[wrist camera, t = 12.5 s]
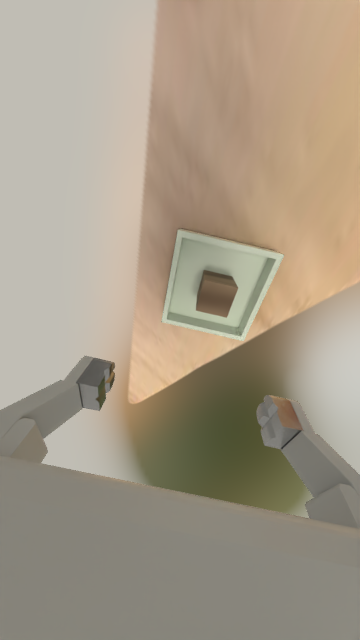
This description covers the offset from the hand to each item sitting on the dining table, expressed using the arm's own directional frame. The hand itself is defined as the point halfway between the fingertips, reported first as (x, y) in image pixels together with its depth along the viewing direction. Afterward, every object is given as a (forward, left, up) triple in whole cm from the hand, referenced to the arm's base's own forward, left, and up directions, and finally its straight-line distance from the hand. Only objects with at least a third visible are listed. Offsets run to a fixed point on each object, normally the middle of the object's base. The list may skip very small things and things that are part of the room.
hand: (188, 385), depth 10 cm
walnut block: (+2, +3, -25) cm, 25 cm away
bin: (+2, +3, -26) cm, 26 cm away
